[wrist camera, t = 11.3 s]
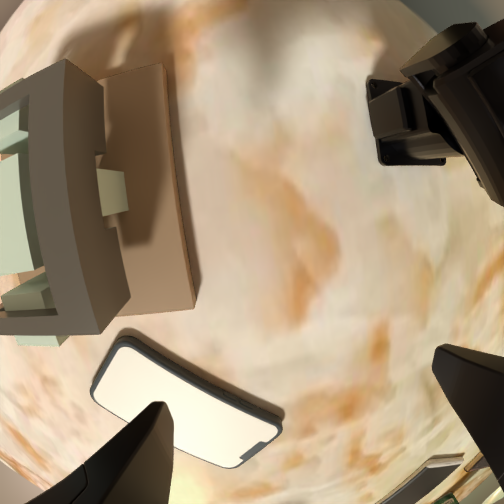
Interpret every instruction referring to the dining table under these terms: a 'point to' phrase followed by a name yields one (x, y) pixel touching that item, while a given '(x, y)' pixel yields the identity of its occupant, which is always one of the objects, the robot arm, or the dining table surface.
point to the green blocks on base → (106, 202)
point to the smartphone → (422, 481)
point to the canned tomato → (446, 499)
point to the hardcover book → (477, 463)
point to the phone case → (183, 405)
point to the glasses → (67, 204)
